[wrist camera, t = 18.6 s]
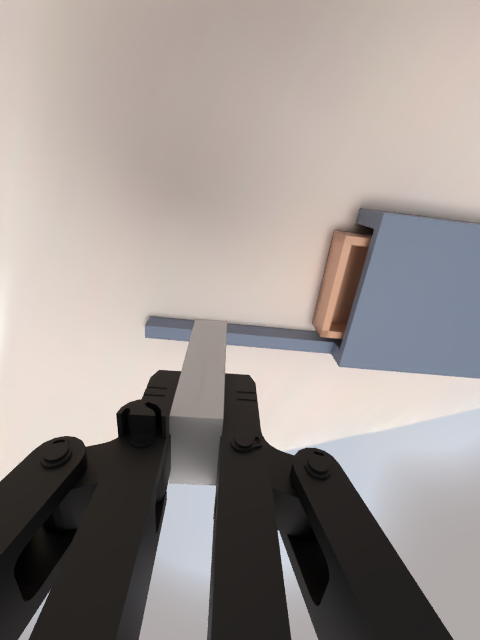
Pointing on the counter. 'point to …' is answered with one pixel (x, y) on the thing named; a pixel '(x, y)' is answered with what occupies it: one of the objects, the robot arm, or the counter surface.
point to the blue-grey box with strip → (392, 303)
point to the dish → (340, 283)
